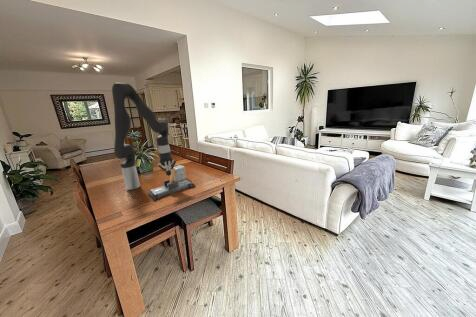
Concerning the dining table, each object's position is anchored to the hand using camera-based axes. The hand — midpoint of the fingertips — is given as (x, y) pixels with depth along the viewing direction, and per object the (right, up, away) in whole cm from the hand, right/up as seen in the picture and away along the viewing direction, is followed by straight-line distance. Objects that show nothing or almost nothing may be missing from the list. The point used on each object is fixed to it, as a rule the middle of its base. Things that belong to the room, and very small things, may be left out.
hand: (168, 175), depth 133 cm
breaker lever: (+1, -7, +3) cm, 8 cm away
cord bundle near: (-9, -14, -4) cm, 17 cm away
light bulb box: (0, -6, +22) cm, 22 cm away
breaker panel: (+1, -11, +4) cm, 12 cm away
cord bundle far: (+11, -8, +11) cm, 18 cm away
